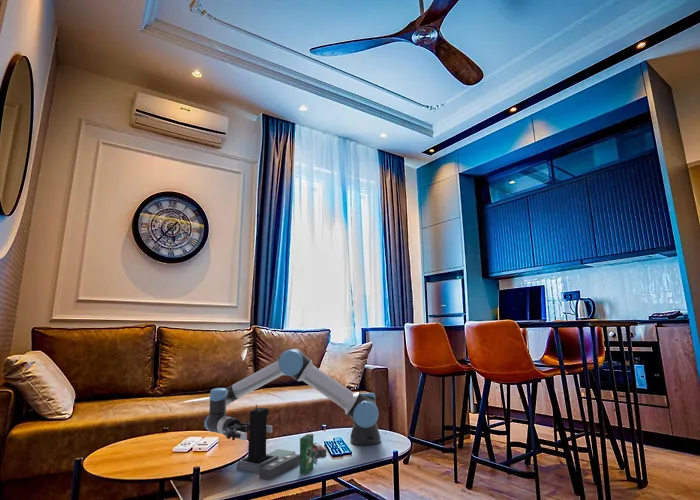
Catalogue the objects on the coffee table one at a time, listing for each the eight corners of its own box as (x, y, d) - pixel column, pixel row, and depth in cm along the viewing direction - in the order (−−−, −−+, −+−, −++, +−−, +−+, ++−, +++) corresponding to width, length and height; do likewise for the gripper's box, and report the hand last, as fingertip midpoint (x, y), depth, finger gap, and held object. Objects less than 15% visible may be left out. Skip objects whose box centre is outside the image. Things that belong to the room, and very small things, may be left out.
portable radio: (257, 462, 167) (258, 401, 171) (269, 464, 164) (270, 401, 169) (246, 468, 159) (247, 404, 164) (258, 470, 157) (259, 405, 162)
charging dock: (300, 463, 164) (300, 453, 165) (269, 480, 147) (269, 469, 147) (262, 457, 173) (262, 448, 174) (229, 472, 156) (229, 462, 157)
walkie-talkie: (300, 451, 181) (314, 464, 163) (300, 441, 182) (314, 453, 164) (317, 448, 185) (333, 461, 167) (317, 438, 185) (333, 450, 168)
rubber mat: (295, 452, 178) (295, 451, 178) (278, 460, 168) (278, 459, 168) (278, 450, 183) (278, 449, 183) (261, 457, 172) (261, 456, 172)
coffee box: (307, 467, 160) (307, 433, 162) (314, 467, 159) (313, 433, 161) (299, 474, 152) (299, 438, 155) (305, 474, 151) (305, 438, 154)
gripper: (251, 429, 185) (281, 435, 172) (204, 441, 166) (234, 450, 153) (251, 412, 187) (281, 417, 174) (205, 423, 167) (234, 430, 155)
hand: (259, 433), depth 164 cm, fingers open, 13 cm apart
